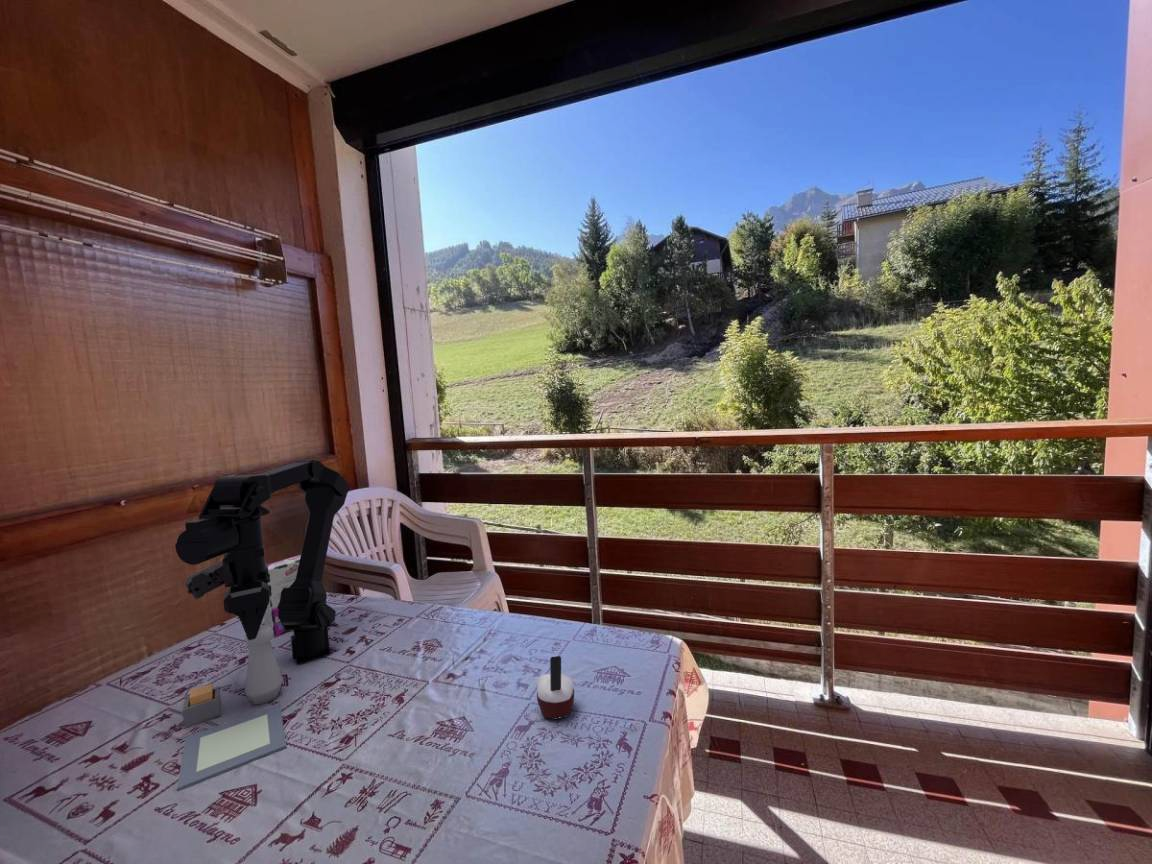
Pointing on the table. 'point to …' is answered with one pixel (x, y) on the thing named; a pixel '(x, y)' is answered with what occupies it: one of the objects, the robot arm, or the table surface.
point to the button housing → (202, 710)
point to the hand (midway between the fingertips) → (252, 629)
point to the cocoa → (555, 691)
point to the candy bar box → (279, 589)
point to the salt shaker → (262, 668)
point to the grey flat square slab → (231, 746)
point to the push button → (201, 694)
